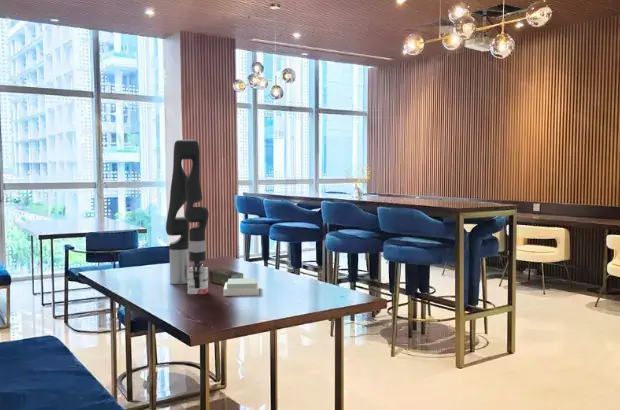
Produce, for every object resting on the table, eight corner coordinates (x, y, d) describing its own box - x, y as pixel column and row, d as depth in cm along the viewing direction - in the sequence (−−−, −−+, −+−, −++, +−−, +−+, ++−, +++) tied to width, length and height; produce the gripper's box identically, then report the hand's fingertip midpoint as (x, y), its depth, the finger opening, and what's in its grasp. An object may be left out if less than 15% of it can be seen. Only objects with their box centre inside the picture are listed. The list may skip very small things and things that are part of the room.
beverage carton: (231, 287, 271) (230, 274, 271) (208, 282, 285) (208, 269, 285) (244, 285, 277) (243, 272, 277) (221, 280, 291) (221, 267, 290)
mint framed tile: (225, 288, 268) (225, 278, 267) (259, 287, 269) (259, 277, 269) (223, 295, 252) (223, 284, 252) (259, 295, 253) (259, 284, 253)
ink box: (208, 292, 260) (208, 266, 259) (205, 294, 255) (205, 268, 254) (190, 291, 261) (190, 266, 260) (187, 294, 256) (186, 268, 255)
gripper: (191, 248, 263) (191, 284, 264) (187, 252, 249) (187, 290, 250) (207, 248, 264) (207, 283, 265) (204, 252, 250) (204, 289, 251)
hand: (197, 286), depth 257 cm, fingers closed on ink box, 5 cm apart
